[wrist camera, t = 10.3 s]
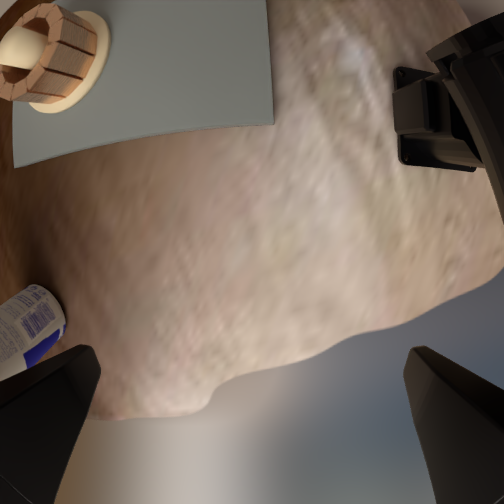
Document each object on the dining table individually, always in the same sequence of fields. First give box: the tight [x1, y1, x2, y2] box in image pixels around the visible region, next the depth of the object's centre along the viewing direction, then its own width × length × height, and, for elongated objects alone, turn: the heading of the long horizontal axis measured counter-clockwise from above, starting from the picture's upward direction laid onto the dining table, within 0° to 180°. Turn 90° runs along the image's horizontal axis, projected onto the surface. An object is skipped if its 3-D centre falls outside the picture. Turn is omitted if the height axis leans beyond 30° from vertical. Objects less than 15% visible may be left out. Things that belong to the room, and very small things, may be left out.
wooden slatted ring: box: [0, 4, 98, 104], centre depth 11 cm, size 6×6×4 cm
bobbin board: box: [0, 0, 274, 168], centre depth 11 cm, size 20×14×7 cm
